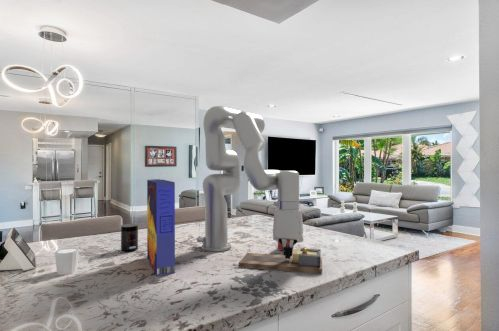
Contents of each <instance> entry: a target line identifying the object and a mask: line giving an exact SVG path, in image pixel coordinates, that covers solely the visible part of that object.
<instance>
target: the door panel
mask: <svg viewBox="0 0 499 331" xmlns="http://www.w3.org/2000/svg"><path fill="white" fill-rule="evenodd" d="M238 267H239V268H250V269H262V270H271V271H272V270H273V271H284V272H285V271H286V272H294V273H295V272H296V273H308V274H321V275H322V274H323V273H322V272H323V258H322V257H321V262H320V267H309V266H299V263H295V262H293V255H292V256H291V257H290V259H288V258H287V259H285V255H284V254H270V253H257V252H256V253H255V252H247V253H246V254H245V255H244V256H242V258H241V259H240V260H239V262H238Z"/></svg>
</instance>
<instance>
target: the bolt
mask: <svg viewBox="0 0 499 331" xmlns="http://www.w3.org/2000/svg"><path fill="white" fill-rule="evenodd" d="M301 248H302V251H300V250H295V249H294V250H293V251H292V256H293V262H295V263H299V254H313V255H317V252H310V251H308V249H309V248H308V247H301Z"/></svg>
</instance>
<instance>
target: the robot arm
mask: <svg viewBox="0 0 499 331" xmlns="http://www.w3.org/2000/svg"><path fill="white" fill-rule="evenodd" d="M202 123H203V131H204V132H203V133H204V137H205V142H204V143H205V163H206V164H205V165H206V168H207V169H208V170H210V171H218V172H219V171H221V172H222V173H212V174H209V175H207V176H206V177H204V179H203V181H202V191H203V197H204V211H205V212H204V218H205V220H204V223H205V224H204V226H205V227H204V234H205V235H204V237H203V236H197V238H196V242H197V243H202V244H201V249H202V250H204V251H206V252H223V251H228V250H230V249H231V248H232V244H231V243H230V242H228V239H229V238H228V236H229V235H228V234H229V233H228V231H229V230H228V203H227V200H226V198H225V196H230V195H235V194H236V193H237V192H239V189H240V185H241V166H240V165H241V164H240V158H239V155H238V153H237V152H236V151H234V150H232V149H229V148H228V149H226V137H225V135H224V132H223V130H222V128H226V129H232V130H235V132H236V135H237V137H238V138H239V141H240V143H241V146H242V148H243V150H244V156H243V168H244V172H245V175H246V176H247V178H248V181H249V182H250V184H251V186H252V187H253V188H254V189H255V190H257V191H259V192H264V191H276V190H277V200H276V201H273V206H274V207H277V208H275V209H274V215H273V225H272V226H273V228H272V236H273V237H272V240H274V241H276V242H278V241H279V242H280V243H281V244H282V245H283V247H284V251H283V255H285V259H287V258H288V259H290V257H291V256H293V252H294V250H293V249H294V246H295V245H296V244H297V243H303V242H304V241H305V240H304V227H303V226H304V223H303V214H302V210H301V209H300V173H299V172H298V171H296V170H279V169H264V167H263V165H262V162H261V160H260V158H259V154H260V153H259V152H260V151H262V150H263V149H264V148H265V146H266V141H265V139H264V137H263V135H262V133H263V132H264V130H265V125H266V124H265V121H264V118H263V117H262V116H261V115H259V114H256V113H253V112H248V111H243V110H239V109H235V108H230V107H227V106H223V105H222V106H221V105H216V106H212V107H210V108H208V110H207V111H206V113H205V115H204V116H203V122H202ZM286 239H290V244H289V246H288V244H287V240H286Z"/></svg>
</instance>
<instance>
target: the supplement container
mask: <svg viewBox="0 0 499 331" xmlns="http://www.w3.org/2000/svg"><path fill="white" fill-rule="evenodd" d="M138 249H139V224H138V223H125V224H122V225H120V250H121V252H123V253H133V252H136V251H138Z"/></svg>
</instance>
